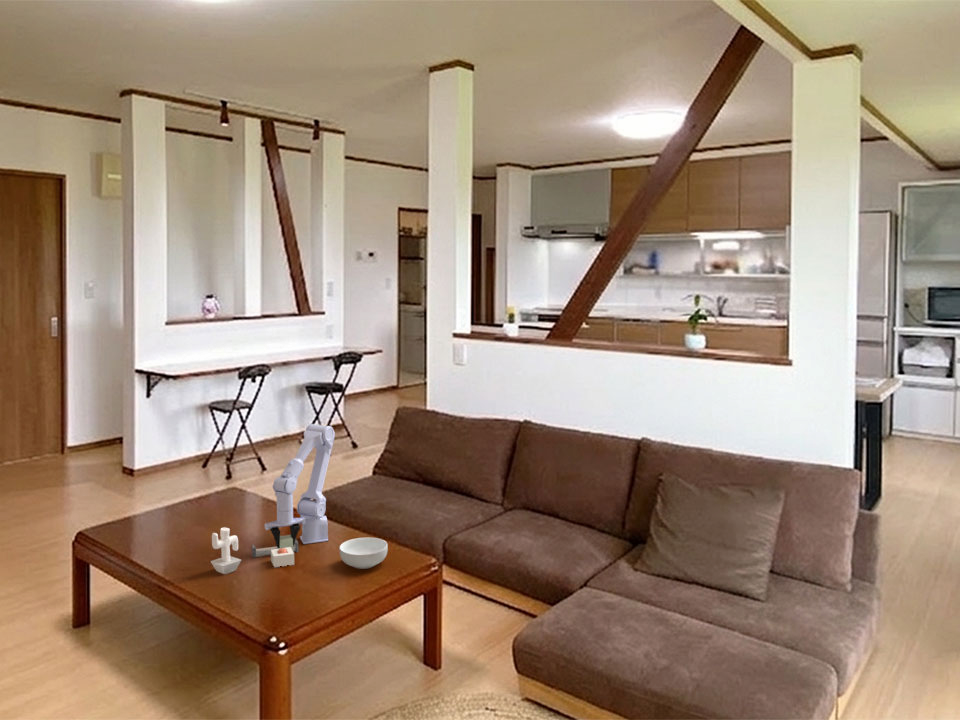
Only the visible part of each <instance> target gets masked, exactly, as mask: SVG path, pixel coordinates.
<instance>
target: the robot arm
mask: <svg viewBox="0 0 960 720" xmlns="http://www.w3.org/2000/svg"><path fill="white" fill-rule="evenodd" d="M335 437H336V433H335V430H334V427H332V426H331V425H322V424H321V425H320V424H314V423H309V424H308V425H307V426H306V428H305V431H303V441H302V443H301V444H300V446H299V448H298V451H297V453H296V455H295V457H294V458H292V459H289V461H288V462H287V464H286V466H285V468H284V469H283V471H282V473H281V475H280V476H278V477H276V478H274V481H273V484H272V489H273V491H274V495H275V497H276V520H274V521H270V522H265V523H264V529H265V531H268V530H270V532H271V534H272V536H273V538H274V543H275V545H276V546H277V547H278V548H280V536H281V530H280V528H285V527H289V532H290V533H289V534H290V535H291V537H292V539H293V545H294V544H295V539H297V536H298V533H299V531H300V530H301V536H299V538H300V541H301V542H302V544H303V545H307V544H313V543H314V544H315V543H323V542H328V541H329V533H328V532H329V529H328V527H329V526H328V518H327V515H325V513H326V508H327V506H326V505H327V504H326V502H327V498H326V497H325V496H324V495H323V493H322V492H323V488H324V484H325V480H326V477H327V476H326V475H327V471H328V466H329V462H330V458H331V453H332V449H333V445H334V441H335ZM314 448H315V449H316V452H315V456H314V457H315V458H314V460H313V466H312V469H311V474H310V479H309V483H308V486H307V490H306V491H305V492H302V494H301V495H300V497H299V498H300V499H299V501H298V502H297V504H296V512H297V513H298V515H300V517H294V495H293V494H294V492H295V491H296V489H297V483H298V478H299V476H301V475H300V474H301V473H302V471H303V469H304V467H305V466H304V463H305V460H306V459H307V457H308V456H309V454H310V453H311V452H312V451H313V449H314ZM276 546H275V547H276Z"/></svg>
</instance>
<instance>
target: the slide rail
mask: <svg viewBox="0 0 960 720" xmlns="http://www.w3.org/2000/svg"><path fill="white" fill-rule="evenodd" d="M273 549H280V548H278V547H277V546H271V547H262V548H261V547H260V548H257V547H256V545H255V544H251V556H252V558H253V559H254V558H255V559H256V558H257V557H266V556H271V550H273ZM293 552H294V553H299V541H298V539H297V538H296V539H295V544H294V545H293ZM265 555H266V556H265Z"/></svg>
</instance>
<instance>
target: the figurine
mask: <svg viewBox="0 0 960 720" xmlns="http://www.w3.org/2000/svg"><path fill="white" fill-rule="evenodd" d="M219 531H220V534H219V535H218V533H216V532H212V533H211V546H212V548H213V549H214V550H218V549H220V551H221V553H220V555H221V557H219V558H216V559H213V560H211V561H210V563H211V564H212V566H213V568H214V570H215V571H216V572H217V573H220V574H222V575H227V574H230V573H233V572H235V571H237V569H238V567H239V565H240V564H241V561H242V559H240V558H237V557H234V556H231V550H230V549H231V548H230V547H231V546H232V550H233V551H236V552H237V551H238V550H239V538H238V536H237V535H236V534H235V535H230V531H231V530H230V528H229V527H226V526H224V527H221V528H220V529H219ZM219 536H220V539H219Z"/></svg>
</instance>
